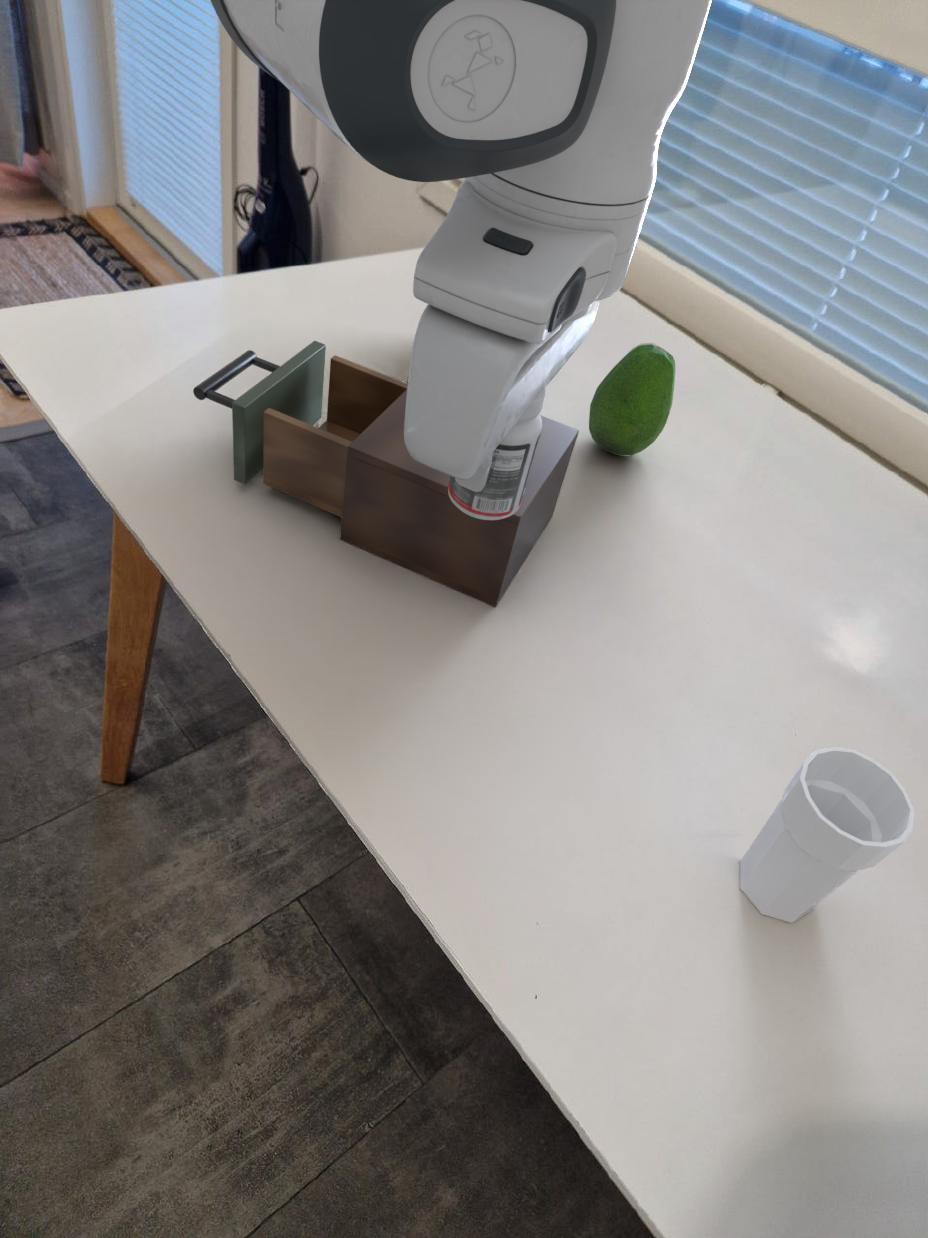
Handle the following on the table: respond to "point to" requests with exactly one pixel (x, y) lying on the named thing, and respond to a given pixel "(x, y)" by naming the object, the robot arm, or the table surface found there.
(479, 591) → the cabinet
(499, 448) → the pill bottle
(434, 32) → the robot arm
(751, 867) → the cup
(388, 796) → the table surface
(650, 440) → the avocado
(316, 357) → the drawer
